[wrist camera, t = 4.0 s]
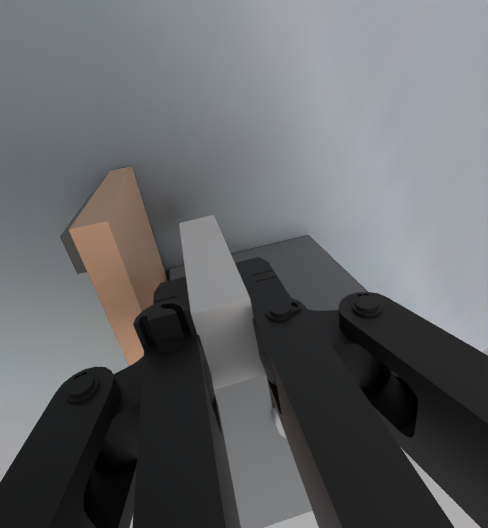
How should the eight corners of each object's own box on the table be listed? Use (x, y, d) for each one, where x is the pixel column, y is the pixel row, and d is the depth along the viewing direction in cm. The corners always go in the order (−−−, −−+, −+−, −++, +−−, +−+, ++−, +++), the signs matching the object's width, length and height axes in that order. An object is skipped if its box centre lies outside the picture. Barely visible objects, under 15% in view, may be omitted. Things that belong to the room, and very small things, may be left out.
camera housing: (169, 268, 22) (174, 393, 13) (308, 235, 24) (405, 327, 14) (215, 419, 30) (239, 567, 21) (319, 387, 31) (387, 514, 22)
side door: (92, 174, 19) (35, 237, 10) (131, 166, 19) (107, 221, 10) (185, 422, 29) (194, 553, 21) (209, 414, 29) (228, 541, 21)
